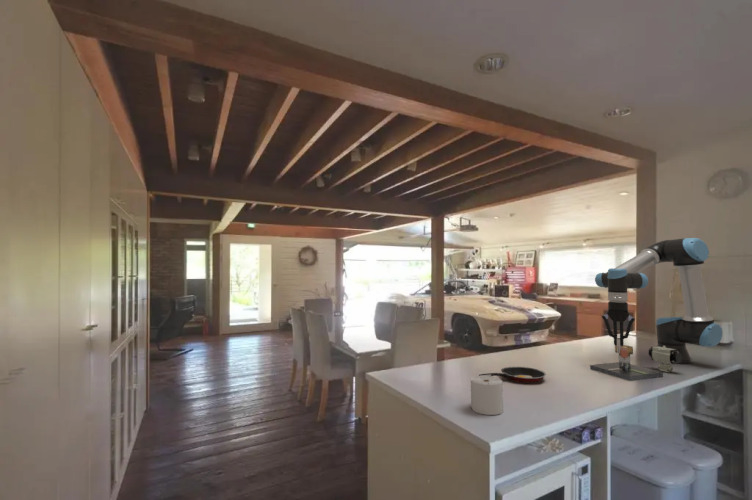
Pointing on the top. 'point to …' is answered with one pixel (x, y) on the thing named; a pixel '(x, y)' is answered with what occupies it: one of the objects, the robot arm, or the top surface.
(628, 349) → the scoop with pink handle
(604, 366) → the grey plate with post
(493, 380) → the toilet tissue
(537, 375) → the frying pan
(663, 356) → the pneumatic valve
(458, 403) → the top surface
